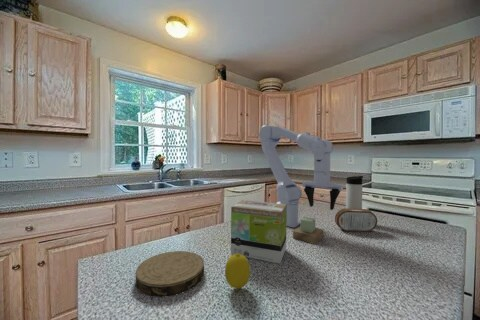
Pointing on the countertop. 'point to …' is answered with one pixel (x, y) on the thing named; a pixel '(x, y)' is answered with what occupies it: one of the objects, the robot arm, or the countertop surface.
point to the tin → (356, 220)
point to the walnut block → (308, 235)
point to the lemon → (237, 271)
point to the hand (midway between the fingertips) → (321, 207)
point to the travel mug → (354, 192)
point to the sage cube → (307, 224)
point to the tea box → (259, 230)
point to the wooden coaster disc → (169, 273)
